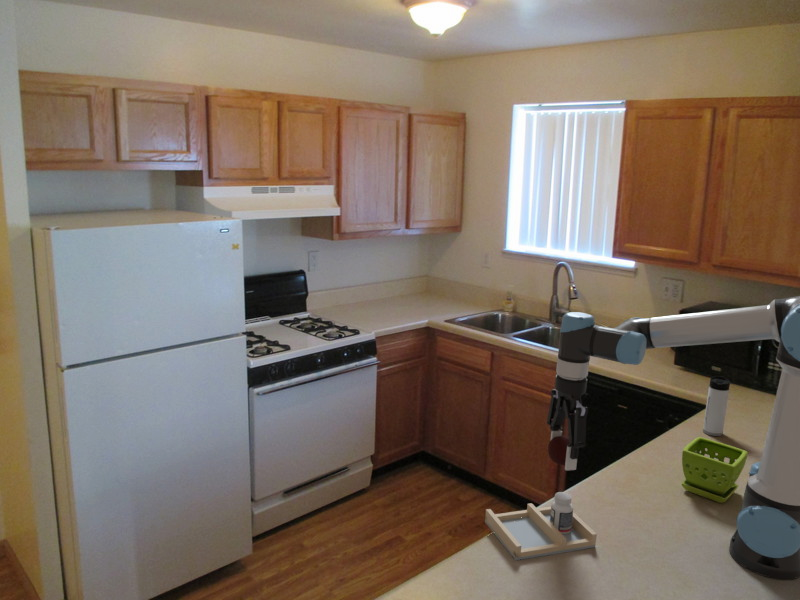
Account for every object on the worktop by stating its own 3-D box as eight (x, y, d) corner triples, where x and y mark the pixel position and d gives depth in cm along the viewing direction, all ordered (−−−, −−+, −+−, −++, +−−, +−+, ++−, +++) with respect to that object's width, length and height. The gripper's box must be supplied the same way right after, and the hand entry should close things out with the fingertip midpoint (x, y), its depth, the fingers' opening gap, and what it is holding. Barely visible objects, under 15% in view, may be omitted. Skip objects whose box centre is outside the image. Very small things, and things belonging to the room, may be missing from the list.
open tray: (595, 547, 150) (596, 533, 149) (515, 560, 143) (516, 546, 143) (558, 511, 165) (559, 499, 164) (485, 522, 159) (485, 509, 158)
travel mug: (723, 431, 222) (731, 377, 218) (721, 438, 216) (729, 382, 212) (704, 427, 225) (711, 374, 221) (701, 433, 220) (709, 379, 216)
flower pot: (675, 490, 178) (680, 449, 176) (692, 475, 188) (697, 435, 186) (728, 509, 169) (735, 466, 166) (743, 492, 179) (749, 450, 177)
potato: (541, 458, 160) (543, 432, 159) (566, 455, 163) (569, 429, 162) (557, 471, 154) (560, 444, 152) (584, 467, 156) (587, 441, 155)
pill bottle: (574, 528, 156) (578, 495, 154) (565, 537, 152) (568, 503, 150) (555, 520, 159) (558, 488, 158) (545, 528, 155) (548, 496, 154)
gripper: (608, 389, 145) (597, 480, 150) (564, 362, 164) (555, 443, 169) (579, 390, 143) (569, 482, 148) (538, 363, 162) (530, 445, 167)
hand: (562, 461), depth 158 cm, fingers closed on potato, 7 cm apart
